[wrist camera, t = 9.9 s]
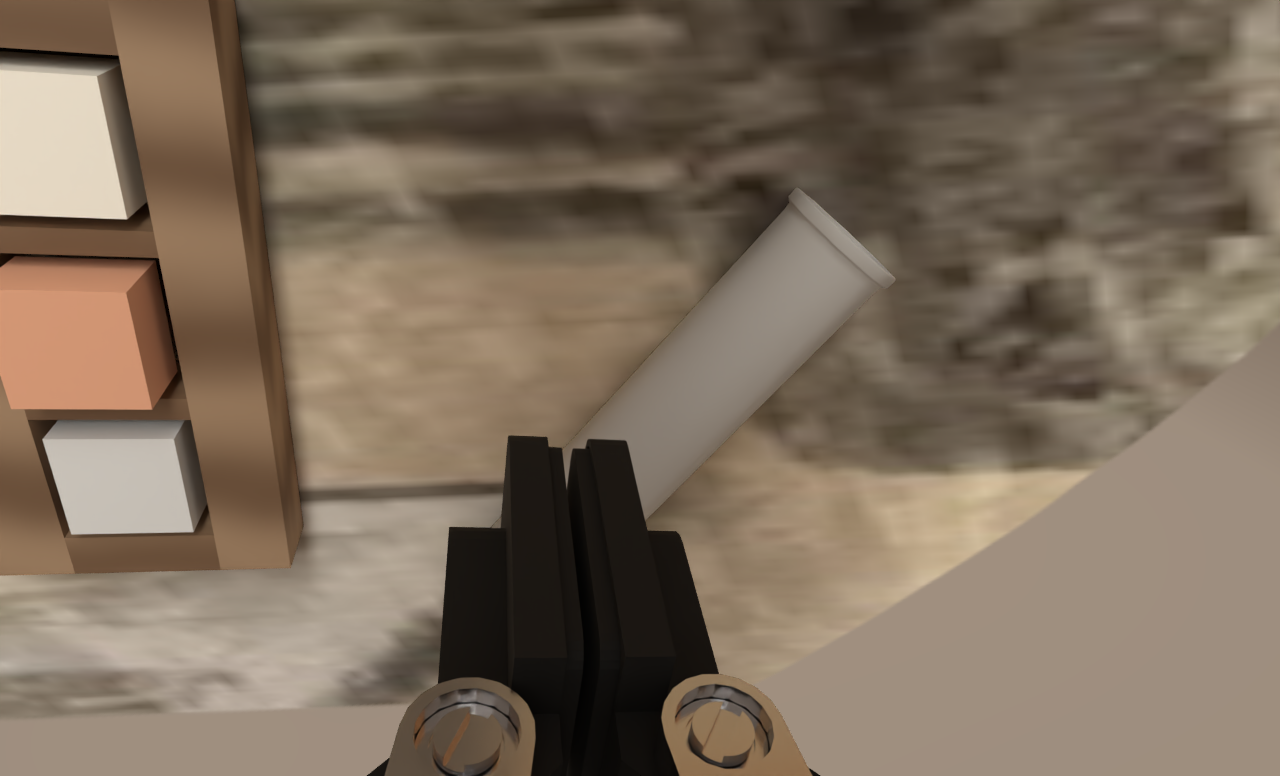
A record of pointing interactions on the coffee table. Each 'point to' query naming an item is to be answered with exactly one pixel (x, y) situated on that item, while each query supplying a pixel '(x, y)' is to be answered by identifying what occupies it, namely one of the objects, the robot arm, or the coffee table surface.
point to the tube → (736, 347)
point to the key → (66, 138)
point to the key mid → (83, 334)
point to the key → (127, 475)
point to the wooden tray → (168, 295)
